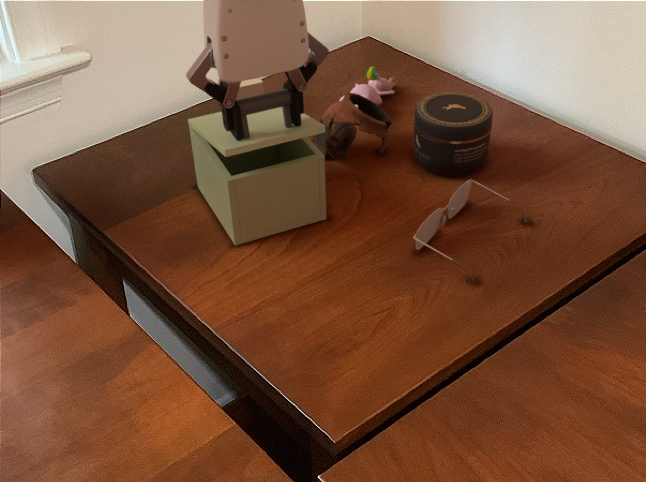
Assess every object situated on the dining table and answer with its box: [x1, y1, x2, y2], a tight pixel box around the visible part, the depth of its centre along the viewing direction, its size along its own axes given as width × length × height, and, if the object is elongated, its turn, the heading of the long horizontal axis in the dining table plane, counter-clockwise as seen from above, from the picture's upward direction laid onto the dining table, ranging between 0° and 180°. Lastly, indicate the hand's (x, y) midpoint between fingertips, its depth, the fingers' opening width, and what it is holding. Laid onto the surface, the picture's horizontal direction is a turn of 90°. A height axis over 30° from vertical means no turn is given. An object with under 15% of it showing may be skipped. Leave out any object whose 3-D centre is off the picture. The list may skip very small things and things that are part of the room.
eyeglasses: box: [413, 178, 528, 282], centre depth 93 cm, size 14×8×4 cm, turn 145°
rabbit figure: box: [338, 65, 396, 108], centre depth 118 cm, size 6×6×15 cm
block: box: [236, 77, 265, 100], centre depth 118 cm, size 5×5×5 cm
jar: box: [412, 90, 494, 178], centre depth 106 cm, size 10×10×8 cm
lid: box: [187, 88, 326, 157], centre depth 93 cm, size 14×12×5 cm
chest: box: [188, 125, 327, 246], centre depth 98 cm, size 14×12×9 cm
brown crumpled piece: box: [313, 92, 393, 160], centre depth 108 cm, size 12×10×8 cm
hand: (264, 126), depth 90 cm, fingers closed on lid, 6 cm apart
